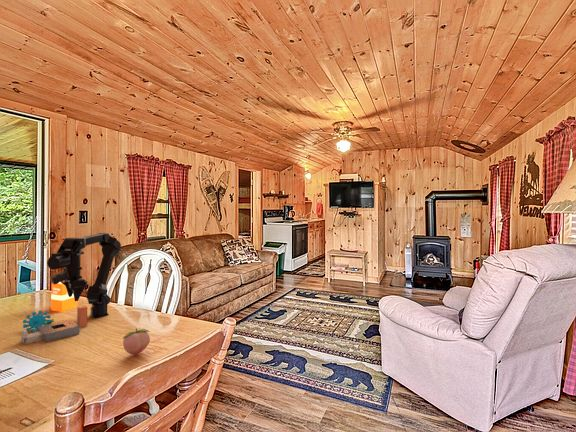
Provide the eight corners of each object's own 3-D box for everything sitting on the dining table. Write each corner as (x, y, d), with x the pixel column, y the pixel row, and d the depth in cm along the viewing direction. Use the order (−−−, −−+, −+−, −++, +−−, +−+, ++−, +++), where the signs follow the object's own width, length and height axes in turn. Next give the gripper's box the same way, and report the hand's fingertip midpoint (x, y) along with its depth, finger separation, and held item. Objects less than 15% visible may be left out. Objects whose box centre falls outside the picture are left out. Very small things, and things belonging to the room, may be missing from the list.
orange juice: (51, 310, 166) (51, 272, 166) (67, 305, 175) (67, 269, 174) (62, 312, 164) (62, 274, 164) (77, 307, 173) (78, 270, 172)
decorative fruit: (142, 347, 125) (143, 322, 125) (153, 353, 120) (153, 327, 120) (118, 355, 118) (118, 328, 118) (127, 362, 113) (128, 334, 112)
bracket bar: (39, 337, 132) (39, 325, 132) (42, 339, 130) (42, 327, 130) (21, 341, 127) (21, 329, 127) (24, 344, 125) (24, 332, 125)
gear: (18, 331, 134) (27, 309, 141) (20, 337, 138) (28, 316, 145) (49, 330, 139) (56, 310, 146) (50, 336, 142) (57, 316, 149)
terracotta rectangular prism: (84, 324, 147) (84, 305, 147) (87, 326, 145) (87, 306, 145) (77, 326, 145) (77, 307, 145) (79, 328, 143) (79, 308, 143)
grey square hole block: (69, 327, 144) (69, 319, 144) (79, 333, 136) (79, 325, 136) (37, 334, 135) (37, 326, 135) (45, 342, 127) (45, 334, 127)
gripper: (46, 264, 143) (46, 298, 144) (57, 270, 131) (57, 307, 132) (74, 261, 152) (74, 293, 152) (87, 267, 139) (87, 301, 140)
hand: (73, 298), depth 144 cm, fingers open, 9 cm apart
